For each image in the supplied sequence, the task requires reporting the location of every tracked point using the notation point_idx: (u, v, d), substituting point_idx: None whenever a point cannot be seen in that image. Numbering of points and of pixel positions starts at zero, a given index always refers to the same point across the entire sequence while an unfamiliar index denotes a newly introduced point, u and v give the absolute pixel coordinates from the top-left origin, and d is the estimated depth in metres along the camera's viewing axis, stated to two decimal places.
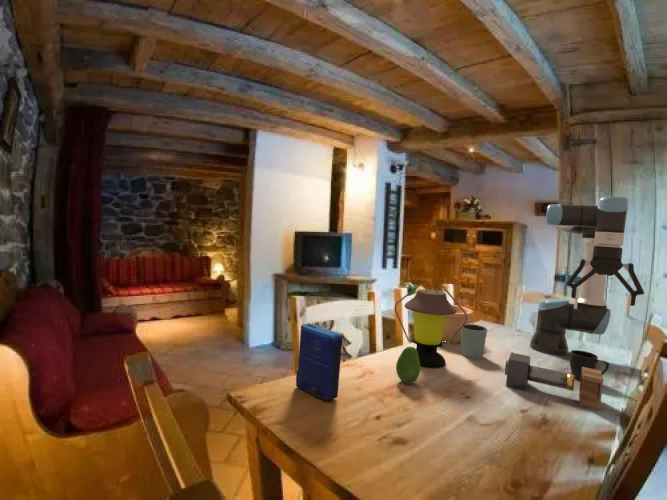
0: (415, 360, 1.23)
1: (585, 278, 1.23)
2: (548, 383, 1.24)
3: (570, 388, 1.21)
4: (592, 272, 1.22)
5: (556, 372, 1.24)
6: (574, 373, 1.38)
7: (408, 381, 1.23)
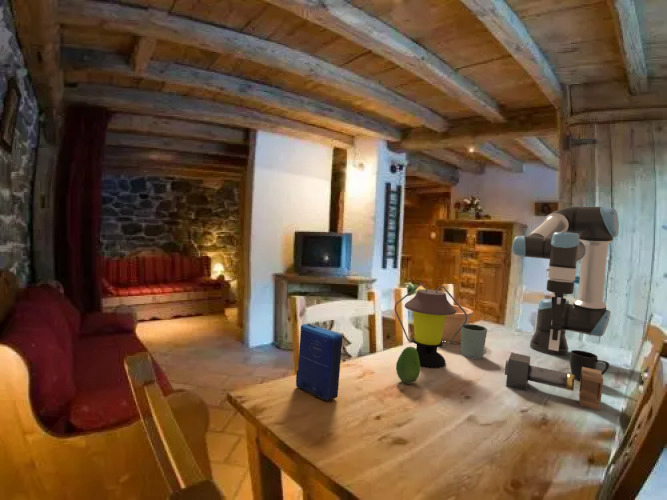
0: (415, 360, 1.23)
1: None
2: (548, 383, 1.24)
3: (570, 388, 1.21)
4: None
5: (556, 372, 1.24)
6: (574, 373, 1.38)
7: (408, 381, 1.23)
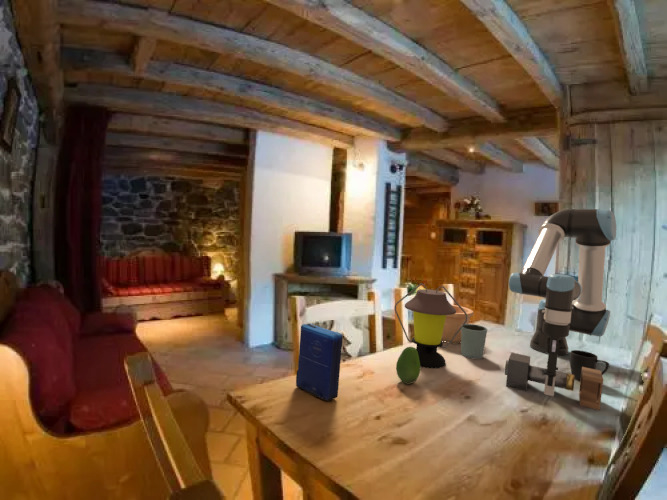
0: (415, 360, 1.23)
1: None
2: None
3: (570, 388, 1.21)
4: None
5: (556, 372, 1.24)
6: (574, 373, 1.38)
7: (408, 381, 1.23)
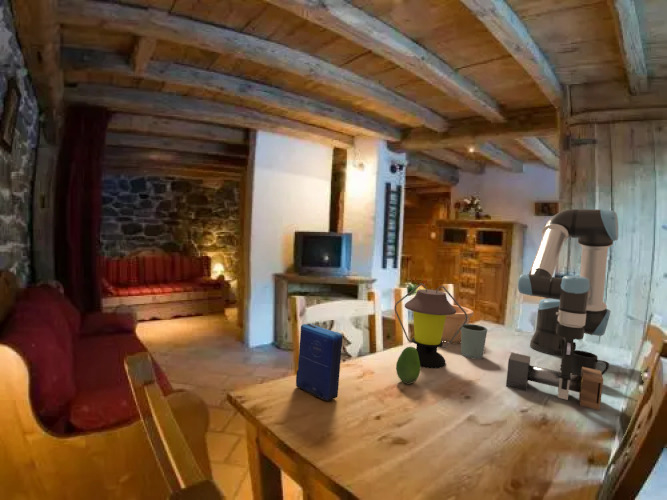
0: (415, 360, 1.23)
1: (562, 358, 1.26)
2: None
3: None
4: (561, 350, 1.25)
5: None
6: (574, 373, 1.38)
7: (408, 381, 1.23)
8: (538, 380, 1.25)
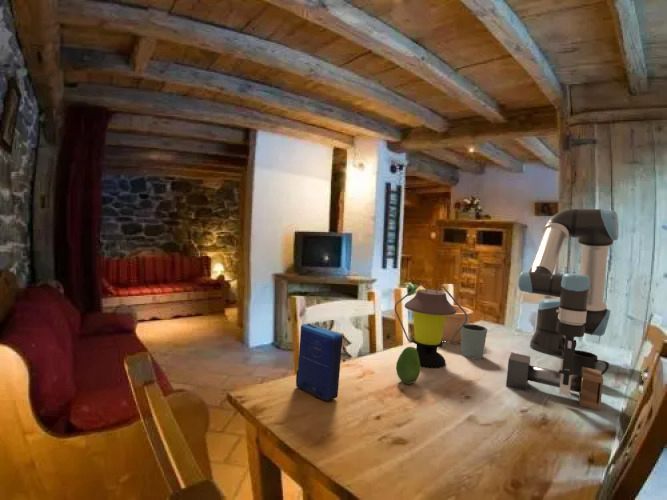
0: (415, 360, 1.23)
1: None
2: None
3: None
4: None
5: None
6: (574, 373, 1.38)
7: (408, 381, 1.23)
8: (538, 380, 1.25)
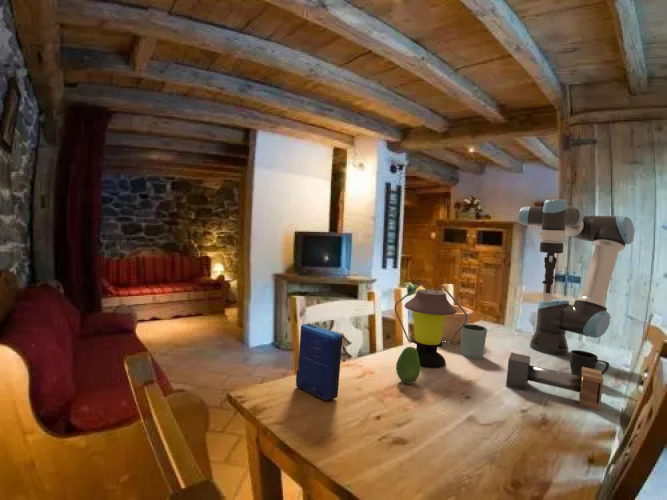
0: (415, 360, 1.23)
1: None
2: (562, 386, 1.22)
3: None
4: None
5: (570, 375, 1.22)
6: (574, 373, 1.38)
7: (408, 381, 1.23)
8: (538, 380, 1.25)
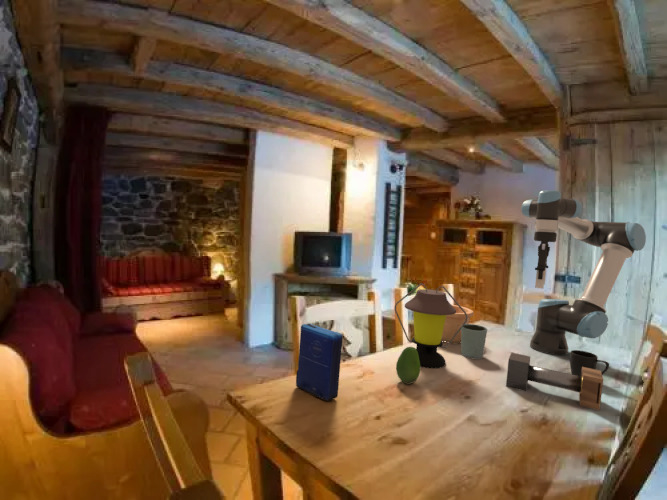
0: (415, 360, 1.23)
1: None
2: (562, 386, 1.22)
3: None
4: None
5: (570, 375, 1.22)
6: (574, 373, 1.38)
7: (408, 381, 1.23)
8: (538, 380, 1.25)
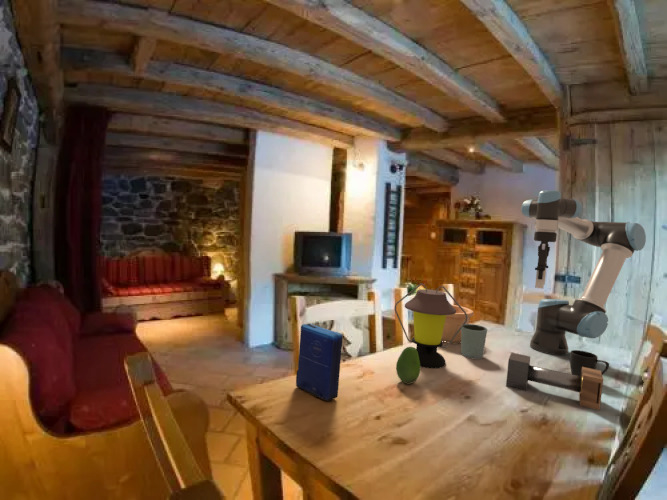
0: (415, 360, 1.23)
1: None
2: (562, 386, 1.22)
3: None
4: None
5: (570, 375, 1.22)
6: (574, 373, 1.38)
7: (408, 381, 1.23)
8: (538, 380, 1.25)
